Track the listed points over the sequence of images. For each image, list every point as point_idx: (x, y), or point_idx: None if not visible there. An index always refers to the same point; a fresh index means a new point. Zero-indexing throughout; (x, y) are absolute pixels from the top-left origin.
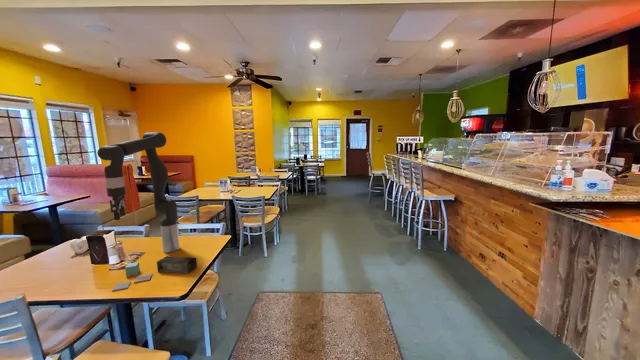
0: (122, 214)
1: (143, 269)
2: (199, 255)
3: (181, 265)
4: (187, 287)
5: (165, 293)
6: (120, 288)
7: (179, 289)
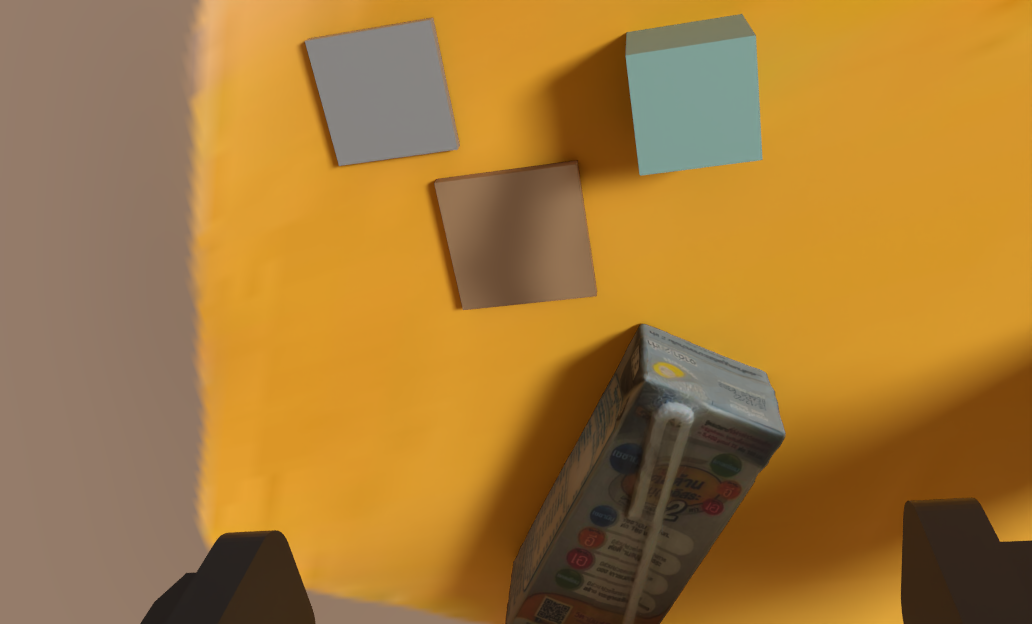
0: (917, 588)
1: None
2: None
3: (525, 574)
4: None
5: (230, 466)
6: (326, 109)
7: None
